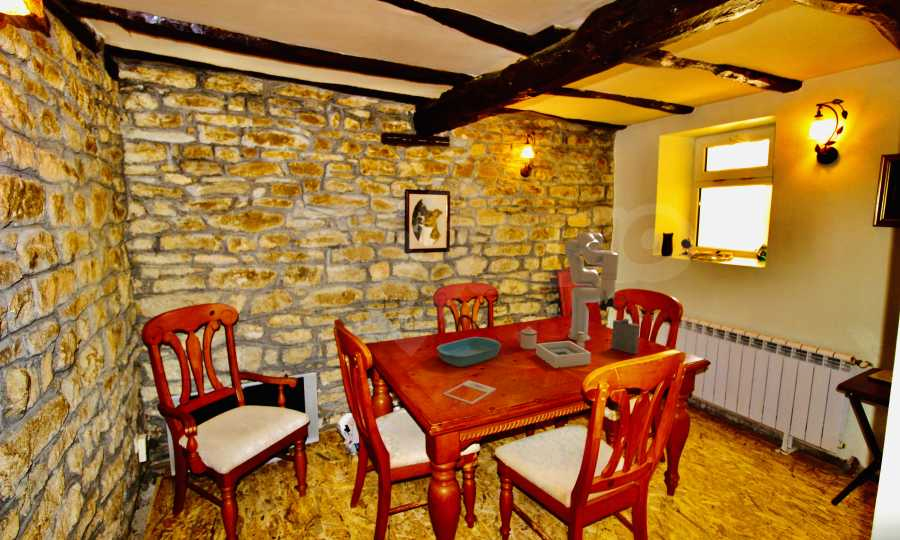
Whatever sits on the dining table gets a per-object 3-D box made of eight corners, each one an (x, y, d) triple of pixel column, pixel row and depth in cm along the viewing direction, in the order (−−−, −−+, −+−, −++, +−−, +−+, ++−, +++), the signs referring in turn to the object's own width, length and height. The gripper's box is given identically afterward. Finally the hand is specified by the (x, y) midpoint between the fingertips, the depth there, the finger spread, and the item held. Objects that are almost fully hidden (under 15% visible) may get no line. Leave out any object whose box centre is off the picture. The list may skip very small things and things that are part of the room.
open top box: (536, 354, 232) (536, 343, 231) (569, 351, 237) (569, 340, 236) (554, 368, 213) (555, 356, 212) (590, 364, 218) (590, 352, 217)
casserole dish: (479, 345, 247) (479, 333, 246) (508, 356, 230) (509, 343, 229) (428, 360, 223) (428, 347, 222) (457, 373, 206) (457, 358, 205)
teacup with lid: (539, 346, 245) (540, 326, 243) (530, 350, 238) (531, 330, 236) (521, 342, 253) (522, 323, 251) (512, 346, 246) (513, 326, 244)
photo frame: (496, 388, 188) (471, 402, 174) (495, 390, 188) (471, 405, 174) (468, 379, 196) (443, 393, 182) (468, 382, 197) (443, 395, 183)
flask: (635, 354, 232) (637, 322, 230) (610, 348, 243) (611, 317, 240) (638, 353, 235) (640, 321, 232) (613, 346, 245) (615, 316, 242)
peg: (575, 349, 240) (575, 332, 239) (581, 348, 242) (582, 331, 240) (579, 351, 237) (579, 334, 235) (585, 351, 238) (586, 333, 236)
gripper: (607, 273, 231) (605, 304, 234) (595, 277, 218) (593, 310, 221) (621, 275, 226) (619, 306, 229) (610, 279, 213) (607, 313, 216)
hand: (606, 308), depth 225 cm, fingers open, 9 cm apart
